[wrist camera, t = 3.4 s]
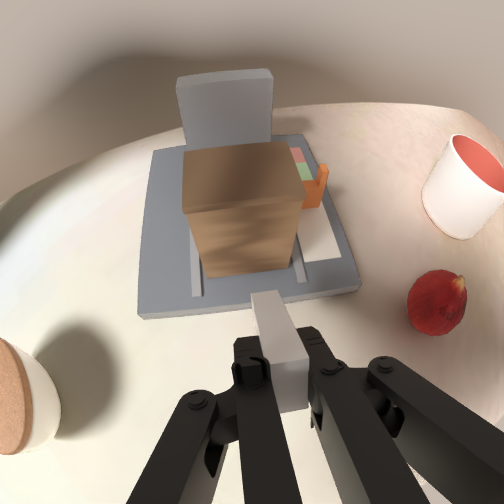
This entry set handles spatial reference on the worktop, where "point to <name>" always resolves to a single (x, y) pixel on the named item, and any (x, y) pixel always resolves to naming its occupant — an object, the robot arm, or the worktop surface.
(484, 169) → the cup
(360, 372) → the robot arm
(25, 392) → the lidded jar
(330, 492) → the worktop surface
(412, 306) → the onion
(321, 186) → the orange bracket
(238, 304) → the base
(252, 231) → the brown rectangular block
